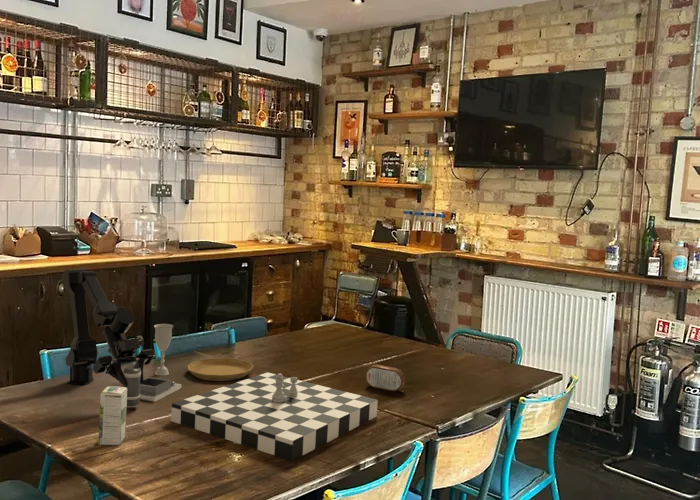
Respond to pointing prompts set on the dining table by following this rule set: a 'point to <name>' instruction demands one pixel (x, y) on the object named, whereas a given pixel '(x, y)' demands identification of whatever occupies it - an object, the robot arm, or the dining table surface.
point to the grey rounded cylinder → (133, 385)
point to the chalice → (163, 344)
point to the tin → (385, 377)
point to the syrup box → (112, 415)
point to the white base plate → (157, 388)
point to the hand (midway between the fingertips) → (134, 384)
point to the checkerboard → (275, 414)
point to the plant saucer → (220, 369)
